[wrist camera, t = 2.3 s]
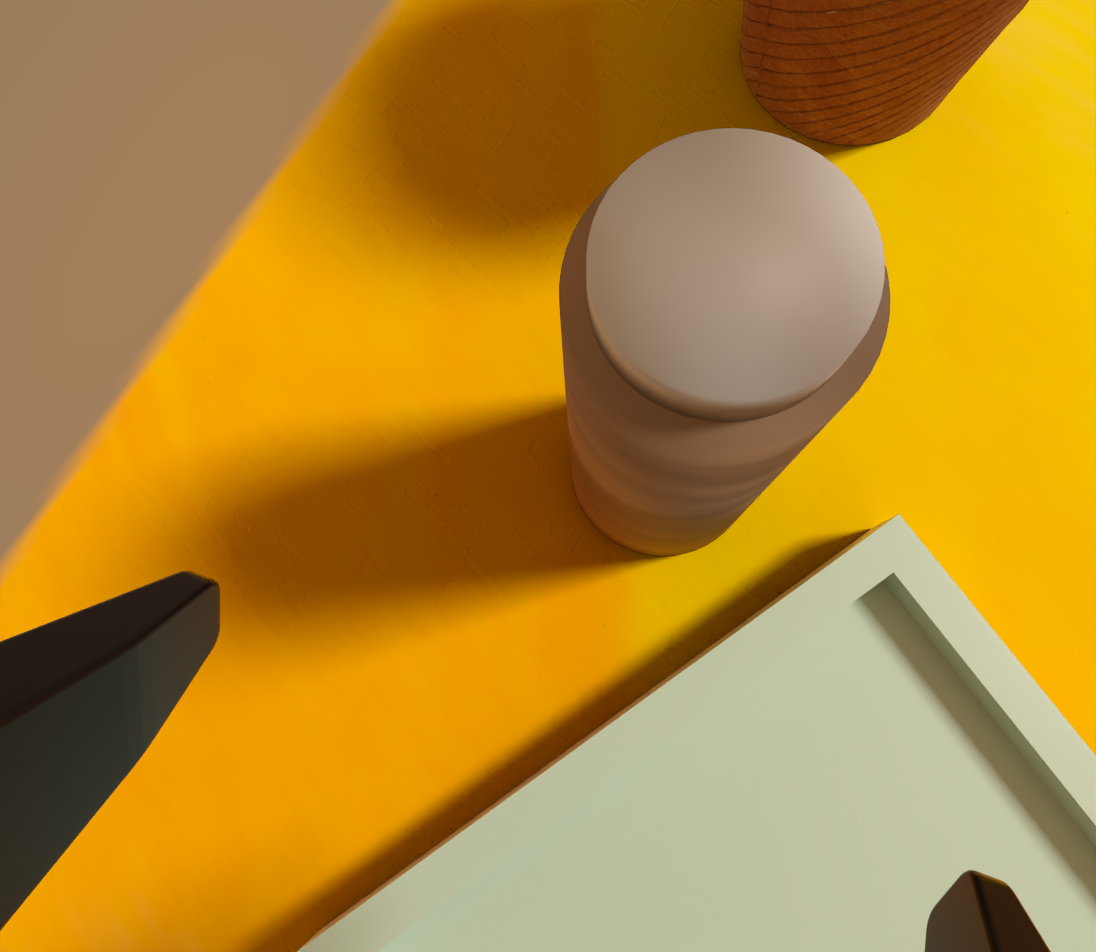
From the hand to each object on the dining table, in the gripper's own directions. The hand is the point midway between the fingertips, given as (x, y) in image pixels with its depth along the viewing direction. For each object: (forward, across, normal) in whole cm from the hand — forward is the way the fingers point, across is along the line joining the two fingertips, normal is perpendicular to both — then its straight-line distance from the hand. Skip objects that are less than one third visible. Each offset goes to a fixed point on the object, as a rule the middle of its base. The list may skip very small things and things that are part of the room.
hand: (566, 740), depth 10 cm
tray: (+6, -6, +12) cm, 14 cm away
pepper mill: (+14, 0, +4) cm, 14 cm away
